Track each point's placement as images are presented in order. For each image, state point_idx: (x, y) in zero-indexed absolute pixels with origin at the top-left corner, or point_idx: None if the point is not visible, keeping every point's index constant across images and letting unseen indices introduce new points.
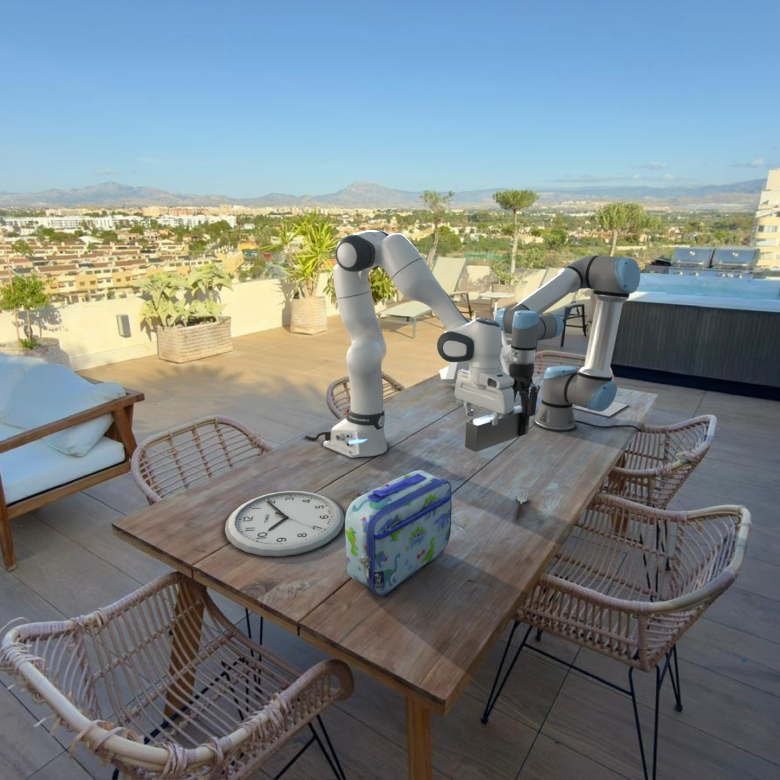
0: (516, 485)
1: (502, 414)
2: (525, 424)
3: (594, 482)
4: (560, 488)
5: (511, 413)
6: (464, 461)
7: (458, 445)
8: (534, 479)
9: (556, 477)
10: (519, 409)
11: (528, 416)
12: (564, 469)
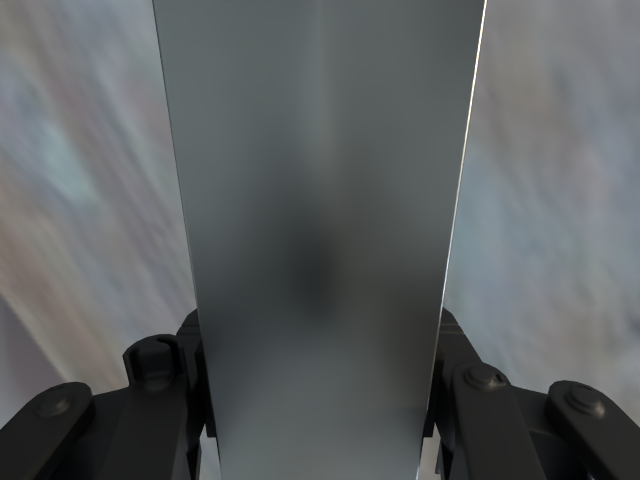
0: (138, 22)
1: (299, 45)
2: (185, 319)
3: (26, 320)
4: (31, 175)
5: (240, 249)
6: (494, 13)
7: (630, 150)
8: (147, 153)
9: (120, 245)
10: (299, 461)
11: (75, 383)
12: (160, 324)
